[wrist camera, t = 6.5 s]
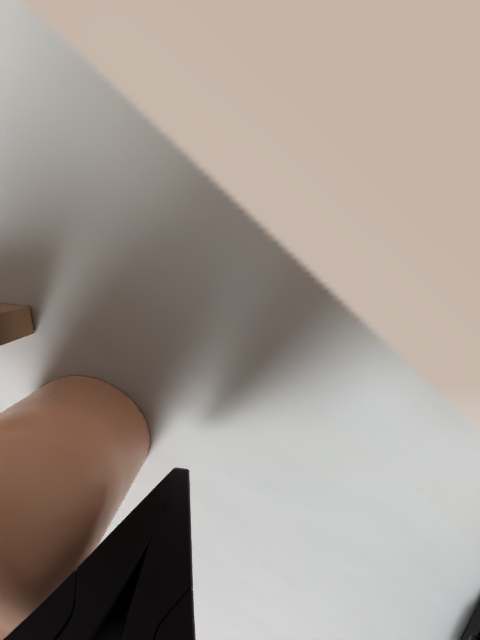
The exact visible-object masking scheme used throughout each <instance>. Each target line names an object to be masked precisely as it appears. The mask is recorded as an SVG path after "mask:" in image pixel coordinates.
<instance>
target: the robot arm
mask: <svg viewBox="0 0 480 640" xmlns="http://www.w3.org/2000/svg"><path fill="white" fill-rule="evenodd" d="M3 640H196V639H195V622H194V601H193V575H192V543H191V511H190V480H189V470H188V469H184V468H174V469H173V470H172V471H171V472H170V473H169V474H168V475H167V476H166V477H165V478H164V479H163V480H162V481H161V482H160V483H159V484H158V485H157V486H156V487H155V488H154V489H153V490H152V491H151V492H150V493H149V494H148V495H147V496H146V497H145V498H144V499H143V500H142V501H141V502H140V503H139V504H138V506H137V507H136V508H135V509H134V510H133V511H132V512H131V513H130V514H129V515H128V516H127V517H126V518H125V519H124V520H123V521H122V522H121V523H120V524H119V525H118V526H117V527H116V528H115V529H114V530H113V531H112V532H111V533H110V534H109V535H108V536H107V537H106V538H105V539H104V541H103V542H102V543H101V544H100V545H99V546H98V547H97V548H96V549H95V550H94V551H93V552H92V553H91V554H90V555H89V556H88V557H87V558H86V559H85V560H84V561H83V562H82V563H81V564H80V565H79V566H78V568H77V571H76V570H74V571H73V572H72V573H71V574H70V575H69V576H68V577H67V578H66V579H65V580H64V582H63V583H62V584H61V585H60V586H59V587H58V588H57V589H56V590H55V591H54V592H53V593H52V594H51V595H50V596H49V597H48V598H46V599H45V600H44V601H43V602H42V603H41V604H40V605H39V606H38V607H37V608H36V609H35V610H34V611H33V612H32V613H31V614H30V615H29V616H28V617H27V618H26V619H25V620H23V621H22V622H21V623H20V624H19V625H18V626H17V627H16V628H15V629H14V630H13V631H12V632H10V633H9V634H8V635H7V636H6V637H5V638H4V639H3ZM462 640H480V603H479V605H478V607H477V609H476V611H475V613H474V615H473V617H472V619H471V621H470V623H469V625H468V628H467V630H466V632H465V634H464V636H463V638H462Z"/></svg>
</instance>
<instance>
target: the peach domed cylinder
mask: <svg viewBox="0 0 480 640" xmlns="http://www.w3.org/2000/svg"><path fill="white" fill-rule="evenodd" d="M149 447H150V435H149V429H148V426H147V423H146V421H145V419H144V416H143V415H142V413H141V411H140V410H139V408H138V407H137V406H136V405H135V403H134V402H133V401H132V400H131V399H130V398H129V397H128V396H127V395H125V394H124V393H123V392H122V391H120V390H119V389H117V388H116V387H114V386H112V385H110V384H108V383H106V382H104V381H101V380H98V379H95V378H91V377H85V376H67V377H62V378H59V379H56V380H53V381H51V382H49V383H48V384H46V385H44V386H43V387H41V388H40V389H38V390H36V391H35V392H33V393H32V394H30V395H29V396H27V397H25V398H24V399H22V400H21V401H19V402H17V403H16V404H14V405H13V406H11V407H9V408H8V409H6V410H5V411H3V412H1V413H0V640H3V639H4V638H5V637H6V636H7V635H8V634H9V633H10V632H12V631H13V630H14V629H15V628H16V627H17V626H18V625H19V624H20V623H21V622H22V621H23V620H25V619H26V618H27V617H28V616H29V615H30V614H31V613H32V612H33V611H34V610H35V609H36V608H37V607H38V606H39V605H40V604H41V603H42V602H43V601H44V600H45V599H46V598H48V597H49V596H50V595H51V594H52V593H53V592H54V591H55V590H56V589H57V588H58V587H59V586H60V585H61V584H62V583H63V582H64V580H65V579H66V578H67V577H68V576H69V575H70V574H71V573H72V572H73V571H74V570H76V571H77V568H78V566H79V565H80V564H81V563H82V562H83V561H84V560H85V559H86V558H87V557H88V556H89V555H90V554H91V553H92V552H93V551H94V550H95V549H96V548H97V547H98V545H99V543H100V541H101V539H102V538H103V536H104V534H105V532H106V530H107V529H108V527H109V525H110V523H111V521H112V519H113V518H114V516H115V514H116V512H117V510H118V509H119V507H120V505H121V503H122V501H123V500H124V498H125V496H126V494H127V492H128V491H129V489H130V487H131V485H132V483H133V481H134V480H135V478H136V476H137V474H138V472H139V471H140V469H141V467H142V465H143V463H144V462H145V460H146V458H147V455H148V452H149Z"/></svg>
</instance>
